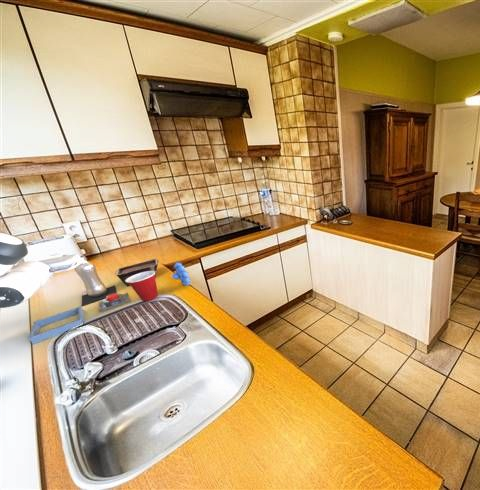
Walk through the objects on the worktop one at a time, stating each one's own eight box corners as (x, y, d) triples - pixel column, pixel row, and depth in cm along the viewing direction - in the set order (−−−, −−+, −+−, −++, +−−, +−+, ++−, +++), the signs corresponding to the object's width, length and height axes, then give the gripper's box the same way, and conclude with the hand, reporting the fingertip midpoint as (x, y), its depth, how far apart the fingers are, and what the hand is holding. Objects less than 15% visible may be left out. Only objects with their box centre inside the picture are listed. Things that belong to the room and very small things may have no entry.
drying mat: (82, 306, 119) (81, 305, 118) (82, 296, 127) (81, 295, 126) (117, 295, 126) (116, 294, 126) (115, 286, 134) (114, 285, 134)
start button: (107, 302, 116) (106, 298, 116) (107, 298, 119) (105, 295, 118) (118, 298, 119) (116, 295, 118) (118, 295, 121) (116, 292, 120)
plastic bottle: (93, 293, 128) (72, 256, 120) (110, 289, 130) (92, 252, 122) (86, 300, 122) (65, 261, 114) (105, 296, 125) (85, 258, 117)
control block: (101, 313, 114) (97, 307, 112) (100, 304, 119) (97, 299, 118) (130, 302, 120) (128, 296, 119) (128, 295, 126) (126, 289, 125)
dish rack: (33, 344, 97) (28, 338, 96) (37, 327, 106) (33, 321, 105) (84, 325, 106) (80, 319, 105) (84, 311, 115) (81, 305, 114)
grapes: (172, 284, 133) (163, 263, 128) (187, 278, 138) (179, 258, 133) (180, 291, 126) (171, 269, 121) (195, 285, 131) (187, 264, 126)
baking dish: (127, 280, 143) (115, 265, 138) (165, 266, 151) (155, 251, 146) (124, 293, 133) (111, 278, 128) (165, 277, 140) (154, 262, 135)
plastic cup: (161, 288, 130) (152, 267, 125) (167, 296, 123) (157, 274, 118) (133, 298, 122) (122, 276, 118) (137, 307, 116) (126, 284, 111)
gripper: (69, 258, 91) (83, 245, 102) (-22, 276, 81) (4, 259, 92) (78, 274, 93) (90, 259, 104) (-9, 293, 84) (15, 275, 95)
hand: (49, 259), depth 98 cm, fingers open, 8 cm apart
